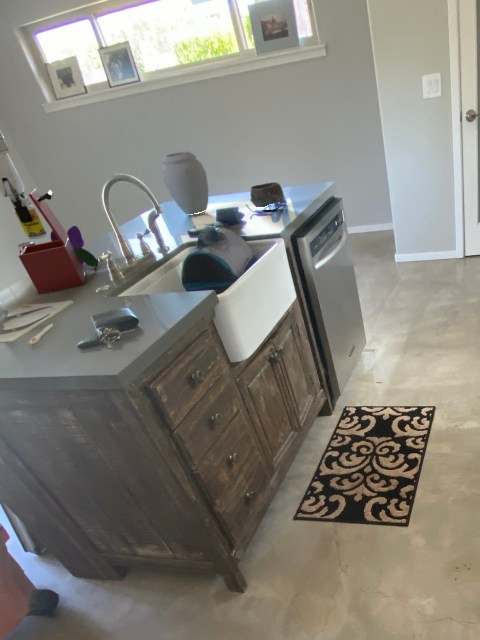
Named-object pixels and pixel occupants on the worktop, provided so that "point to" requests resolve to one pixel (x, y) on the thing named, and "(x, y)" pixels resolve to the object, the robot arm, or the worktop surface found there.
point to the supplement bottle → (32, 223)
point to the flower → (78, 246)
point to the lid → (49, 214)
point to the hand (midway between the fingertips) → (29, 219)
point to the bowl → (266, 194)
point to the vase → (186, 182)
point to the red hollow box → (52, 266)
